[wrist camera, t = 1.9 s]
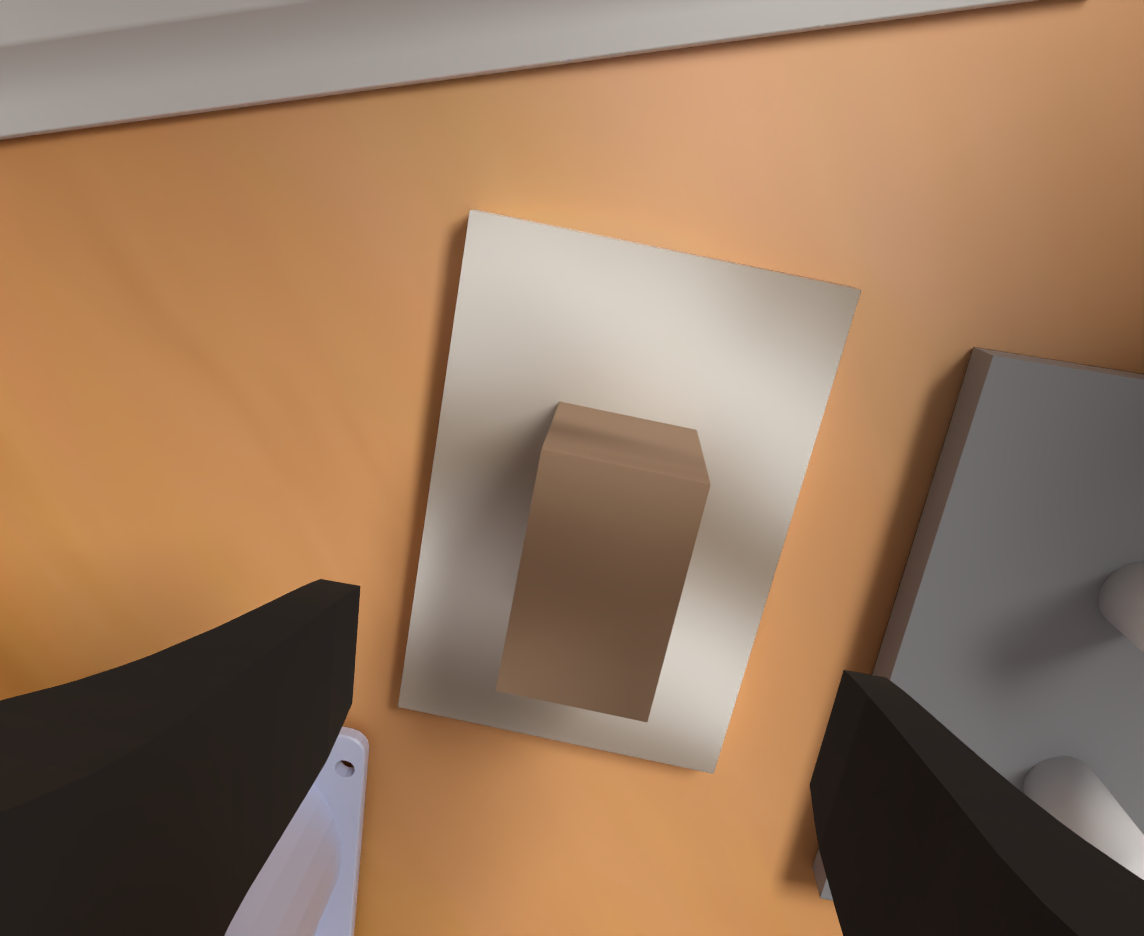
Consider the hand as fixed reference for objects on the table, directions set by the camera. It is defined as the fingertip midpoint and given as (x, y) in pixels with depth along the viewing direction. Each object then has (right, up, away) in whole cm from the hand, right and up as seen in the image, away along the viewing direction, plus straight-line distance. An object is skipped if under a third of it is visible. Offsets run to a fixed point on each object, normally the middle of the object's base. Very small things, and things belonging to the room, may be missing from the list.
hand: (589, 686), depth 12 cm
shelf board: (+1, +2, +7) cm, 8 cm away
